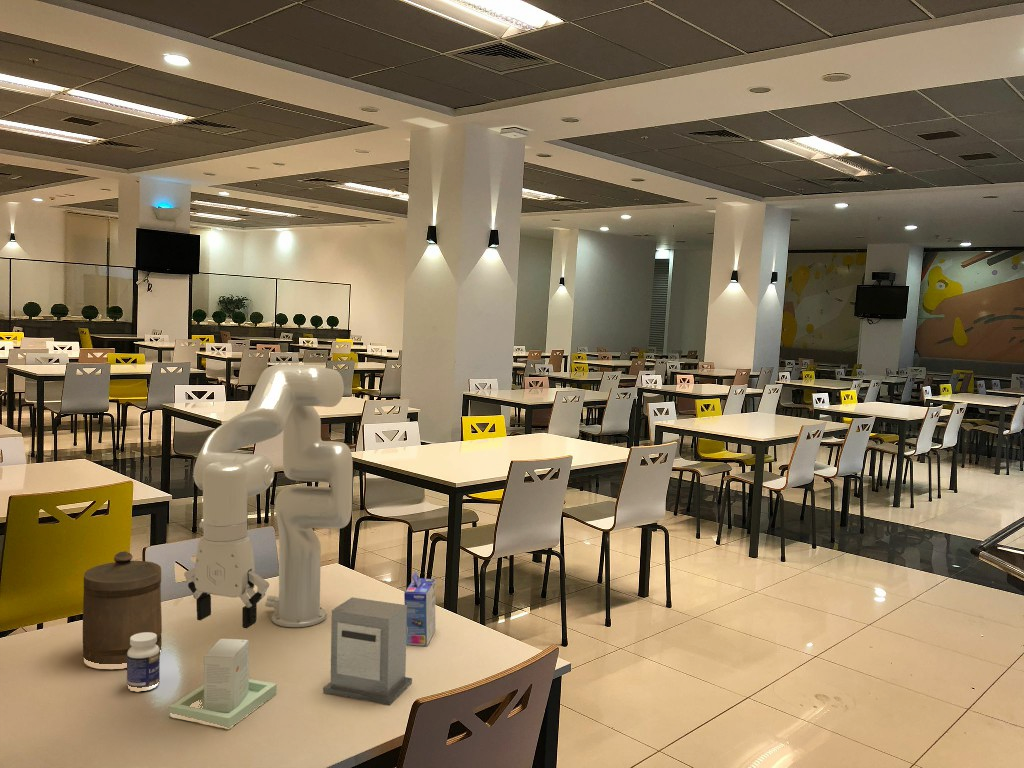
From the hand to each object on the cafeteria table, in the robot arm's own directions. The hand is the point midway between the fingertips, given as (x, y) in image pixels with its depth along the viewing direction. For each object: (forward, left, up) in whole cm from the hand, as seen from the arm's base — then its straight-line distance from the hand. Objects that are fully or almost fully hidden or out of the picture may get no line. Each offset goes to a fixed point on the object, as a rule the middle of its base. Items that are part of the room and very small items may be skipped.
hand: (226, 621), depth 151 cm
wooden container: (-33, +10, -16) cm, 38 cm away
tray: (0, -1, -16) cm, 16 cm away
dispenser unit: (+21, +15, -16) cm, 30 cm away
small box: (0, 0, -15) cm, 15 cm away
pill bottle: (-19, 0, -16) cm, 25 cm away
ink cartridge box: (+20, +42, -16) cm, 50 cm away
